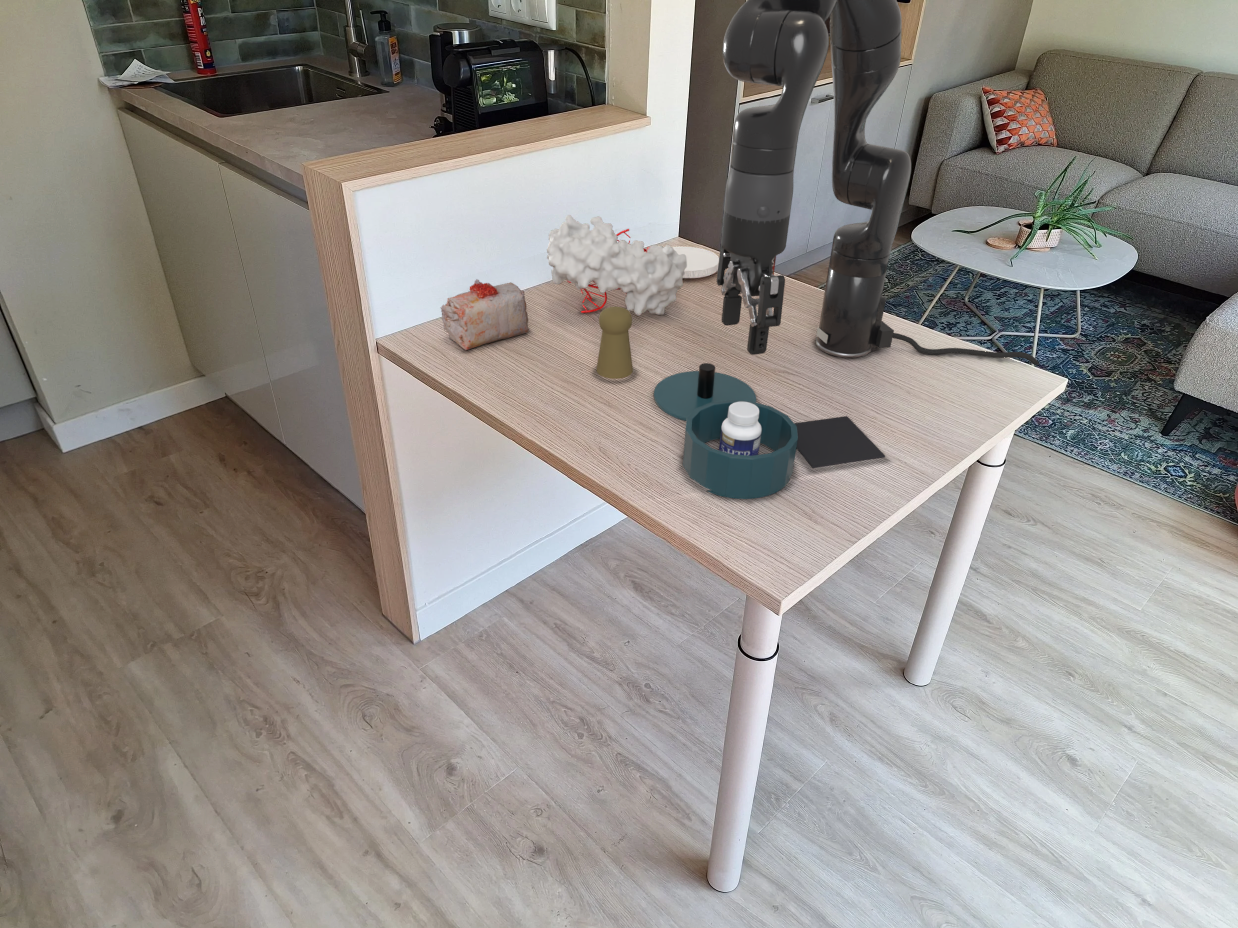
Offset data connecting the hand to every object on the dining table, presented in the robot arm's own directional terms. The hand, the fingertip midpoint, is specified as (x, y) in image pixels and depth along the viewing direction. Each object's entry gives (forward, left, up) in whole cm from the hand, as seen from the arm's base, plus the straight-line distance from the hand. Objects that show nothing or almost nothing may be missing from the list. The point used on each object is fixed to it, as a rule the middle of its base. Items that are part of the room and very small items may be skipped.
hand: (742, 338), depth 105 cm
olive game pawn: (+8, -29, -19) cm, 35 cm away
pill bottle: (-1, +1, -19) cm, 19 cm away
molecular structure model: (+2, -53, -19) cm, 56 cm away
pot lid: (-3, -17, -18) cm, 25 cm away
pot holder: (-16, -1, -19) cm, 24 cm away
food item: (+26, -47, -19) cm, 57 cm away
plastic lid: (-18, -69, -19) cm, 74 cm away
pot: (-1, +1, -19) cm, 19 cm away
